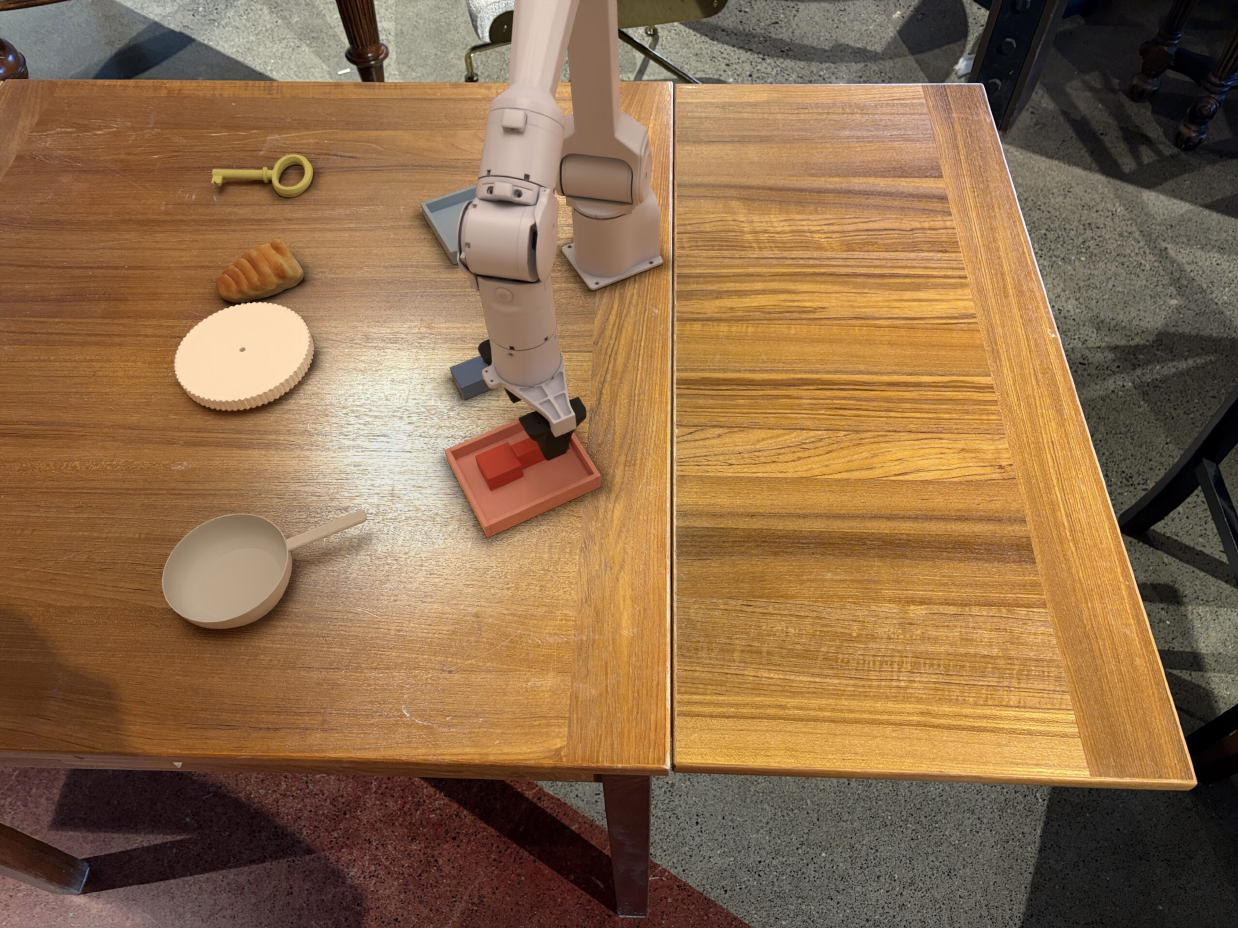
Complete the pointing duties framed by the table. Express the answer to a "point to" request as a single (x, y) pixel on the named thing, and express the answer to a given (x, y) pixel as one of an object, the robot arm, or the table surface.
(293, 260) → the pastry
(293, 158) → the key
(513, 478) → the red stepped bar
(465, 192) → the blue tray
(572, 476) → the red tray
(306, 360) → the cream gear wheel
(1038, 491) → the table surface
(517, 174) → the robot arm
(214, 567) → the beige frying pan
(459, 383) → the stepped square rod
